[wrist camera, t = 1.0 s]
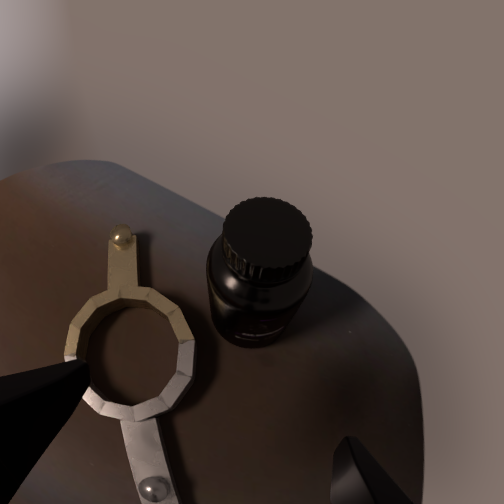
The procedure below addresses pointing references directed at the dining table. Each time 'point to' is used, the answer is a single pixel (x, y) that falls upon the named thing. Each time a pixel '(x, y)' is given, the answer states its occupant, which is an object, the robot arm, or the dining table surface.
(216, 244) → the supplement bottle
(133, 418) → the segmented ring handle
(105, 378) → the dining table surface
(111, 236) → the ring with knobbed tab
